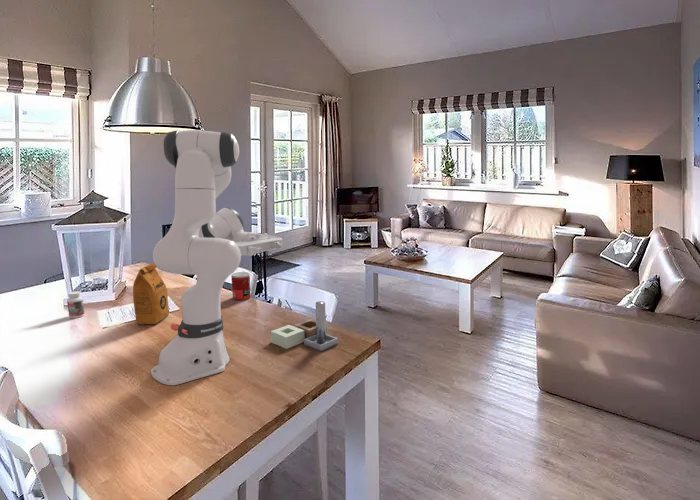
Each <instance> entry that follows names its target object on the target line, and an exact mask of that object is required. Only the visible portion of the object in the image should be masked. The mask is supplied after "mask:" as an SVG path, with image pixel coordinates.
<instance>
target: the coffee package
mask: <svg viewBox="0 0 700 500" xmlns="http://www.w3.org/2000/svg"><path fill="white" fill-rule="evenodd" d="M156 268H157V266H156V265H155V263H154V262H152V263H151V264H148V265H145V266H143V267H142V268H139V270H138V273H137V275H136V277H135V279H134V282H133V285H132V296H133V298H132V299H133V301H132V302H133V307H134V309H133V310H134V314H135V323H136V325H138V326H139V325H140V326H141V325H156V324H158V323H159V322H160V321H162V320H164V319H165V318H166V317H168V316H169V314H170V307H169V306H170V305H169V300H168V297H169V296H168V289H167V285H166V283H165V281H164V280H163V278H162V277H161V276H160V275H159V273H158V270H157V269H156Z"/></svg>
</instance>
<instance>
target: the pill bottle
mask: <svg viewBox="0 0 700 500" xmlns="http://www.w3.org/2000/svg"><path fill="white" fill-rule="evenodd" d="M80 292H81V291H76V290H75V291H71V292H68V295H67V296H68V298H67V299H66V303H67V304H66V305H67V311H68V317H69V318H71V319H79V318H82V317H84V316H85V312H86V311H85V305H84V298H83V297H82V296H81V293H80Z"/></svg>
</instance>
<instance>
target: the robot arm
mask: <svg viewBox="0 0 700 500" xmlns="http://www.w3.org/2000/svg"><path fill="white" fill-rule="evenodd" d="M162 144H163V145H162V146H163V153H164V157H165V159H166V160H167V162H169V164H170V165H172V166H174V169H175V177H174V188H175V189H174V196H175V198H174V201H175V202H174V216H173V221H172V223H171V224H172V225H170V228H169V230H167V233H166V234H165V235H164V237H162V238H161V239H160V240H159V241H158V242H157V243H156V244H155V245H154V248H153V250H152V251H153V252H152V259H153V263H155V265H156V266H157V267H156V268H157V269H158V270H159V271H162V272H166V273H171V274H174V275H196V282H195V284H194V285H192V286H190V287H187V288H186V289H185V291H183V293H182V294H181V297H180V305H181V315H182V319H181V321H180V324H179V323H176V322H173V323H171V324H170V329H171V330H173V331H177V334H176V335H175V336H174V338H172V340H170V342H169V343H168V344H166V346H165V347H163V349H162V350H161V351H160V353H159V357H158V364H157V365H155V366H153V367H152V368H151V370H150V373H151V374H150V375H151V377H152V378H153V379H154V380H155V381H157V382H159V383H161V384H163V385H166V386H167V385H168V386H178V385H180V384H181V385H182V384H185V383H188V382H190V381H194V380H198V379H201V378H205V377H208V376H212V375H215V374H218V373H221V372H224V371H225V369H226V365H227V364H229V361H230V356H229V354H228V351H227V348H226V344H225V338H224V318H223V316H222V313H221V312H222V311H221V296H222V295H221V293H222V289H223V286H224V284H225V282H226V280H227V279H228V278H229V277H230V276H232V274H233V273H235V271H237V269H238V268H239V266H240V263H241V259H242V256H246V257H252V256H255V254H261V253H262V252H263V253H264V252H266V251H267V252H268V251H273V250H282V249H283V246H284V241H283V238H282V237H279V236H275V235H270V234H268V233H266V232H249V231H245V225H244V220H243V218H242V216H241V214H240V213H239V212H238V211H237V210H235V209H233V208H230V207H225V206H224V207H223V208H221V209H220V210H218V211H217V210H216V208H217V205H216V204H217V203H216V202H217V200H216V199H218V197H219V196H220V195H221V194H222V193H223V192H224V191H225V190H226V189H227V188H228V187H229V185H230V183H231V180H232V167H234V165H235V164H236V163H237V162H238V158H239V156H240V145H239V143H238V141H237V137H236V136H234V134H232V133H231V132H226V131H222V132H220V131H211V130H201V129H190V130H180V129H178V130H177V129H176V130H172V131H169V132H168V133H166V135H165V136H164V139H163V143H162Z"/></svg>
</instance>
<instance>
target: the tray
mask: <svg viewBox="0 0 700 500" xmlns="http://www.w3.org/2000/svg"><path fill="white" fill-rule="evenodd" d="M303 343H304V344H303V345H304V346H305V347H309V348H311V349H313V350H316V351H319V352H324V351H325V350H327V349H330V348H332V347H334V346H337V345H339V338H338V337H336V336H332V335H330V334H328V333H327V334H326V343H324V344H321V345H320V344H318V343H316V335H313V336H311V337H308V338H306V339H304V342H303Z"/></svg>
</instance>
